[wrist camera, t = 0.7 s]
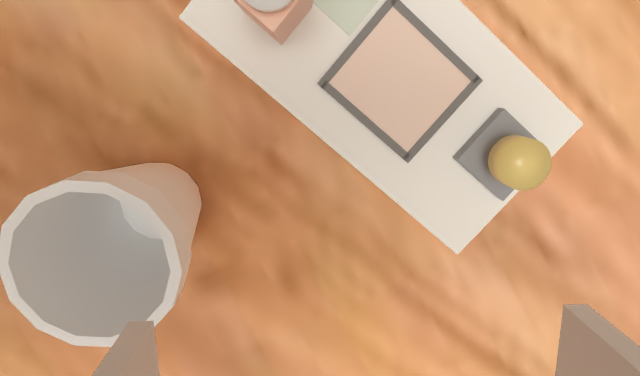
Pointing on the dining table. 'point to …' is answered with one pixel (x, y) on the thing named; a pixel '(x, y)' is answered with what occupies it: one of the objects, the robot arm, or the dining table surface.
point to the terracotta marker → (276, 15)
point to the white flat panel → (400, 97)
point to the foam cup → (100, 250)
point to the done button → (519, 162)
